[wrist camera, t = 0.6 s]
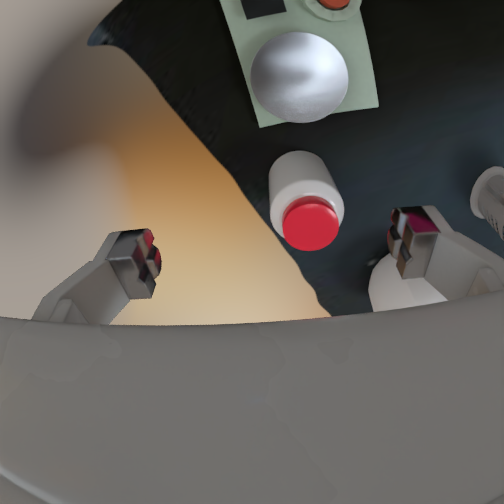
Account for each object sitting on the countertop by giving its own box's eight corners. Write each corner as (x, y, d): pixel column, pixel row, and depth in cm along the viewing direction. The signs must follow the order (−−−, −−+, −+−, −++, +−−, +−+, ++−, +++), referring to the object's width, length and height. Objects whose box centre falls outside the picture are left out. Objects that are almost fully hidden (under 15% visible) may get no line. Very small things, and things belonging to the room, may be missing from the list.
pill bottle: (255, 179, 37) (253, 229, 28) (299, 137, 33) (314, 176, 25) (297, 215, 40) (307, 271, 31) (341, 179, 36) (365, 228, 28)
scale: (219, -4, 22) (215, -9, 20) (345, -24, 20) (353, -30, 17) (259, 124, 32) (259, 131, 30) (374, 104, 30) (384, 110, 27)
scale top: (225, 4, 21) (224, 3, 21) (324, -14, 19) (325, -15, 19) (264, 130, 30) (264, 131, 30) (354, 113, 28) (355, 114, 28)
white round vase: (377, 304, 51) (395, 366, 41) (350, 260, 45) (370, 330, 34) (438, 272, 46) (468, 331, 36) (422, 221, 40) (462, 284, 29)
